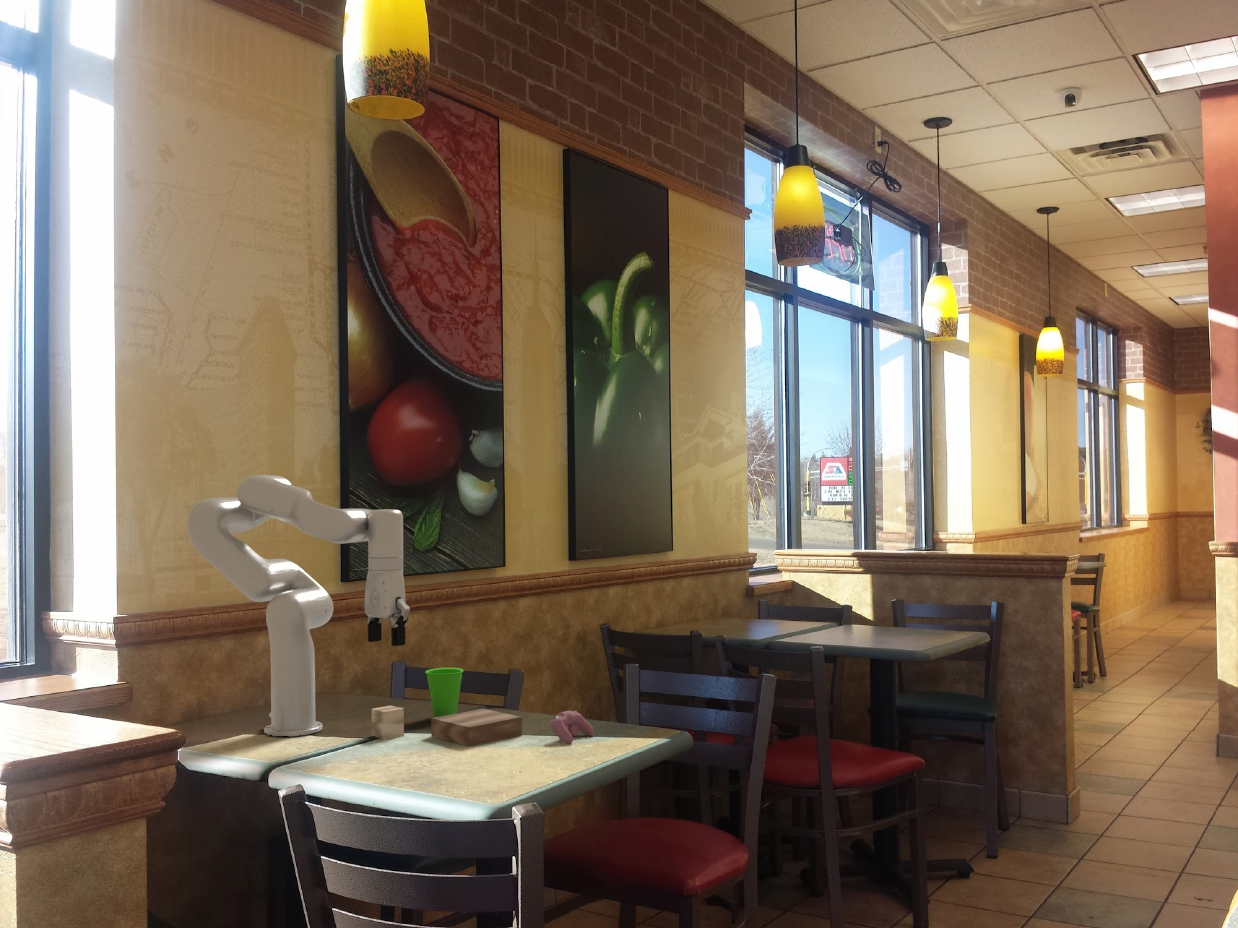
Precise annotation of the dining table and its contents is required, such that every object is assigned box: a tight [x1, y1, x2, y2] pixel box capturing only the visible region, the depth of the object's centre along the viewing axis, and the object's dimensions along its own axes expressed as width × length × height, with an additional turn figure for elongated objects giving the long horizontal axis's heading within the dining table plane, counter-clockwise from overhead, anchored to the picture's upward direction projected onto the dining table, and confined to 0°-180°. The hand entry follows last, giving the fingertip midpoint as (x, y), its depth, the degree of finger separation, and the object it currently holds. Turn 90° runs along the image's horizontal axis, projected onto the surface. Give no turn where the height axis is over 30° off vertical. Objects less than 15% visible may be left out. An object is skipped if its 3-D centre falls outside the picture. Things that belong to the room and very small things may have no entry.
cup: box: [424, 667, 464, 718], centre depth 261 cm, size 9×9×11 cm
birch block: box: [371, 705, 405, 740], centre depth 242 cm, size 5×5×6 cm
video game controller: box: [550, 710, 595, 745], centre depth 236 cm, size 10×5×7 cm, turn 149°
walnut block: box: [430, 708, 523, 748], centre depth 240 cm, size 14×14×4 cm
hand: (386, 643), depth 242 cm, fingers open, 9 cm apart
